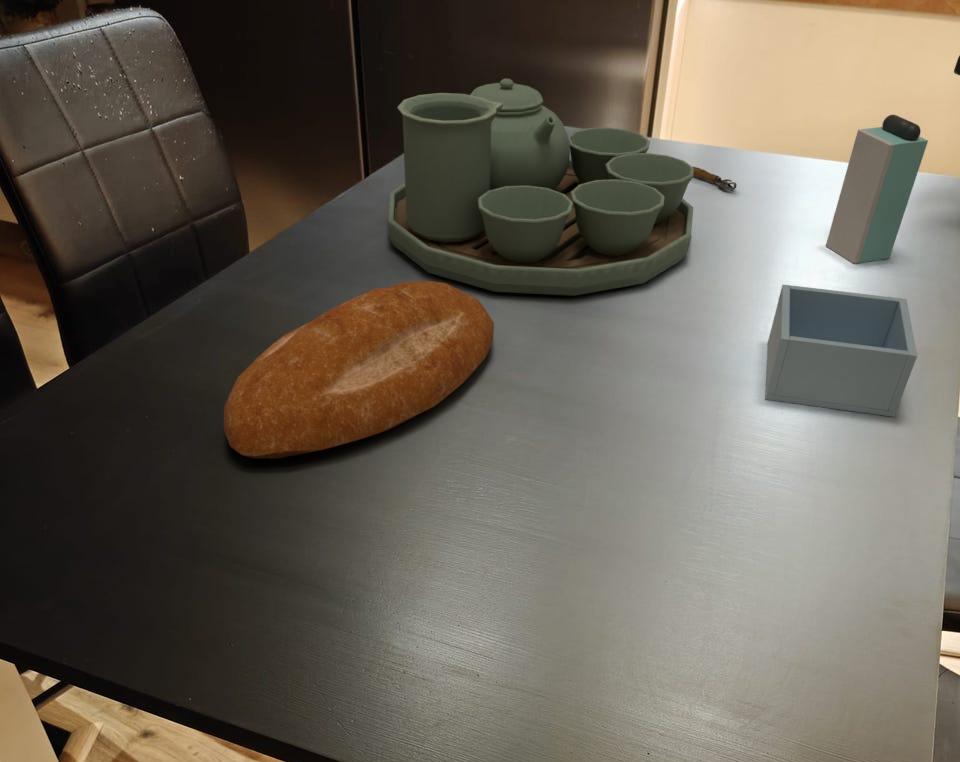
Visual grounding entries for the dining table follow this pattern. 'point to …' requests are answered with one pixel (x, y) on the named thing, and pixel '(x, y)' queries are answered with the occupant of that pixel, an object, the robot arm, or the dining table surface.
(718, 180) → the can opener
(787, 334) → the basket
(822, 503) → the dining table surface
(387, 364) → the bread
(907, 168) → the knobbed tall block
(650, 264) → the tea set
